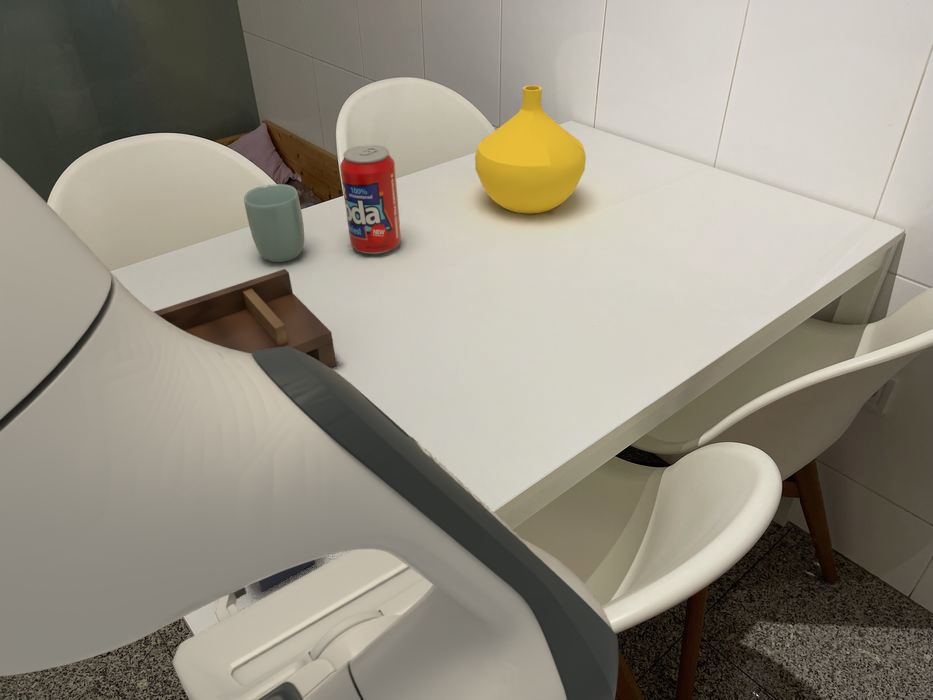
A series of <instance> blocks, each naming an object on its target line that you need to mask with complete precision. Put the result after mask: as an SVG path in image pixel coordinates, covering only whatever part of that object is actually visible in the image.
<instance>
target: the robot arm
mask: <svg viewBox="0 0 933 700" xmlns="http://www.w3.org/2000/svg"><path fill="white" fill-rule="evenodd" d="M340 553H343V554H342V555H340V556H338V557H336V558H334V559H332V560H330V561H329V562H327V563H325V564H323V565H321V566H319V567H317V568H316V569H314V570H312V571H310V572H309V573H307V574H305V575H302V576H300V577H299V578H298V579H296V580H294V581H292V582H289V583H288V584H285V586H283V587H281V588H279V589H278V590H276V591H273V592H272V593H270V594H267V595H266V596H265V597H263V598H260V599H259V600H257V601H255V602H253V603H251V604H250V605H247V606H246V607H245V608H242V609H240V610H239V609H238V607H237V601H238V599H239V598H242V597H243V596H244V595H246V594H247V590H246V587H248V586H250V585H252V584H254V583H257V581H260V580H262V579H264V578H267V577H269V576H272V575H274V574H276V573H279V572H281V571H284V570H286V569H289V568H292V567H295V566H297V565H300V564H303V563H306V562H309V561H312V560H315V561H316V560H318V559H320V558H321V559H322V558H324V557H327V556H332V555H335V554H340ZM216 601H217V604H216V608H215V612H214V614H215V616H216V619H217V623H215V624H213V625H211V626H209V627H208V628H206V629H204V630H202V631H200V632H198V633H197V634H195V635H192V636H191V637H189V638H187V639H185V640H183V641H182V642H181V643H180V644H179V645H178V647H177V649H176V651H175V654H174V656H173V659H172V661H171V662H172V667H173V669H174V671H175V673H176V676H177V678H178V680H179V682H180V685H181V686H182V688H183V691H184V693H185V694H186V696H187V698H188V700H615V699H616V694H617V693H616V692H617V685H618V677H619V638H618V635H617V634H616V632H615V631H614V629H613V627H612V623H611V622H610V618H609V617H608V615H607V613H606V612H605V610H604V608H603V606H602V605H601V603H600V602H599V601H598V599H597V597H596V596H595V595H594V593H593V592H592V591H591V590H590V589H589V588H588V587H587V586H586V584H585V583H584V582H583V581H582V579H580V577H579V576H577V575H576V573H574V572H573V571H572V570H571V569H570V568H569V567H568V566H566V565H565V564H564V563H563V562H562V561H560V560H559V559H557V558H556V557H554V556H553V555H552V554H550V553H549V552H548V551H545V550H544V549H542V548H540V547H539V546H537V545H535V544H533V543H531V542H530V541H527V540H526V539H523V538H521V537H520V536H519V534H518V533H517V532H516V531H515V530H513V529H512V528H511V527H510V525H508V524H507V523H506V522H505V521H504V520H503V519H502V518H500V517H499V516H498V515H497V513H496V512H495V511H494V510H492V509H491V508H490V507H489V506H488V505H486V503H485V502H484V501H482V499H480V497H478V496H477V495H476V493H473V492H472V490H471V489H470V488H469V487H467V486H466V485H465V484H464V482H462V481H461V480H460V479H459V478H458V477H457V476H456V475H455V474H454V473H453V472H451V471H450V470H449V469H448V468H447V466H446V465H443V463H442V462H441V461H439V459H438V458H437V457H434V455H433V454H432V453H431V452H430V451H429V450H428V449H427V448H425V447H423V445H422V444H421V443H420V442H419V441H418V440H416V439H415V438H414V437H413V436H410V434H408V433H407V432H406V431H405V430H404V429H403V428H402V427H401V426H400V425H398V424H397V422H395V421H394V420H393V419H391V417H390V416H388V415H387V414H386V413H385V412H383V410H382V409H380V408H379V407H378V406H377V405H376V404H375V403H373V402H372V401H371V400H370V399H369V398H368V397H367V396H366V395H365V394H364V393H362V392H361V390H359V389H358V388H357V387H356V386H355V385H353V384H352V383H351V382H350V381H348V380H347V379H346V378H345V377H344V376H342V375H341V374H340V373H339V372H337V371H336V370H334V369H333V368H329V367H328V366H326V365H325V364H323V363H322V362H320V361H318V360H316V359H315V358H313V357H311V356H309V355H307V354H306V353H303V352H301V351H299V350H296V349H294V348H292V347H289V346H285V347H278V348H271V349H264V350H257V351H252V354H251V353H246V352H241V351H237V350H233V349H229V348H226V347H223V346H219V345H216V344H213V343H210V342H208V341H205V340H203V339H200V338H198V337H196V336H193V335H191V334H189V333H187V332H185V331H183V330H181V329H179V328H178V327H176V326H174V325H172V324H171V323H169V322H168V321H166V320H165V319H163V318H161V317H160V316H158V315H157V314H156V313H154V311H153V310H152V309H151V308H149V307H148V306H147V305H146V304H144V303H143V302H142V301H140V299H138V298H137V297H136V296H135V295H134V294H133V293H132V292H131V291H130V290H129V289H128V288H127V287H125V285H124V284H123V283H122V282H121V281H120V280H119V279H118V278H117V277H116V275H114V273H112V272H111V270H110V269H109V267H107V266H106V264H105V263H104V262H103V261H102V260H101V259H100V258H99V257H98V256H97V254H95V252H93V250H92V249H91V248H90V247H89V246H88V245H87V244H86V243H85V242H84V240H83V239H81V237H80V236H79V235H78V234H77V233H76V231H74V230H73V228H71V226H70V225H69V224H68V223H67V222H66V221H65V220H64V219H63V217H62V216H60V215H59V214H58V213H57V212H56V211H55V210H54V209H53V208H52V207H51V206H50V205H49V204H48V202H46V201H45V200H44V199H43V198H42V197H41V196H40V194H38V193H37V192H36V191H35V189H33V188H32V187H31V186H30V185H29V184H28V182H26V181H25V180H24V179H23V178H22V177H21V176H20V175H19V174H18V172H16V171H15V169H13V168H12V167H11V166H10V165H9V164H8V163H7V162H6V161H5V160H3V159H2V158H1V157H0V677H9V676H10V677H11V676H15V675H23V674H29V673H34V672H38V671H45V670H49V669H54V668H59V667H63V666H66V665H71V664H75V663H78V662H81V661H85V660H87V659H91V658H94V657H97V656H100V655H103V654H106V653H109V652H113V651H114V650H118V649H119V648H122V647H125V646H128V645H129V644H132V643H134V642H137V641H139V640H141V639H143V638H145V637H147V636H150V635H151V634H153V633H156V632H157V631H160V630H161V629H163V628H165V627H167V626H169V625H170V624H173V623H175V622H177V621H179V620H180V619H182V618H184V617H186V616H188V615H190V614H192V613H194V612H197V611H198V610H200V609H202V608H204V607H206V606H208V605H210V604H212V603H214V602H216Z"/></svg>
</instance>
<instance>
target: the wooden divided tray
mask: <svg viewBox="0 0 933 700" xmlns="http://www.w3.org/2000/svg"><path fill="white" fill-rule="evenodd" d="M153 312H154V313H156V314H157V315H158V316H160V317H161V318H163V319H165V320H166V321H168V322H169V323H171V324H172V325H174V326H176V327H178V328H179V329H181V330H183V331H185V332H187V333H189V334H191V335H193V336H196V337H198V338H200V339H203V340H205V341H208V342H210V343H213V344H216V345H219V346H223V347H226V348H229V349H233V350H237V351H241V352H246V353H251V354H252V351H257V350H264V349H271V348H278V347H285V346H289V347H292V348H294V349H296V350H299V351H301V352H303V353H305V354H307V355H309V356H311V357H313V358H315V359H316V360H318V361H320V362H322V363H323V364H325V365H326V366H328V367H329V368H331V369H333V368H335V367H337V359H336V353H335V347H334V341H333V339H334V338H333V334H332V331H331V330H330V329H329V328H328V327H327V326H326V325H325V324H324V322H322V321H321V320H320V319H319V318H318V317H317V315H315V314H314V313H313V312H312V311H311V309H309V308H308V307H307V306H306V305H305V304H304V302H302V301H301V300H300V298H298V297H297V295H295V294H294V292H293V286H292V282H291V276H290V272H289V271H288V270H287V269H286V268H283V269H281V270H277V271H275V272H271V273H268V274H265V275H262V276H258V277H255V278H253V279H250V280H246V281H244V282H240V283H238V284H237V283H236V284H235V285H231V286H228V287H225V288H222V289H218V290H216V291H213V292H210V293H206V294H204V295H200V296H198V297H194V298H190V299H188V300H185V301H182V302H179V303H176V304H173V305H170V306H167V307H164V308H160V309H157V310H154V311H153Z"/></svg>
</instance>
